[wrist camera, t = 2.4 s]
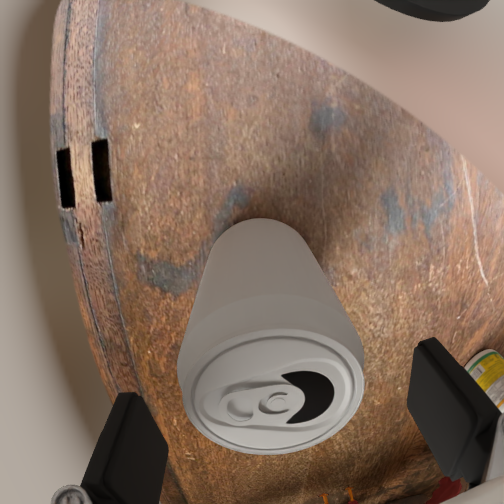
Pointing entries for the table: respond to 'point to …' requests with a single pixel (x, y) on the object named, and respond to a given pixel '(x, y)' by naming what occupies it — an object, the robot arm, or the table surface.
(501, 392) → the supplement bottle
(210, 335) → the beverage can
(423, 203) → the table surface
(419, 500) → the light fixture
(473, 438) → the robot arm
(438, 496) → the decorative bird sculpture
